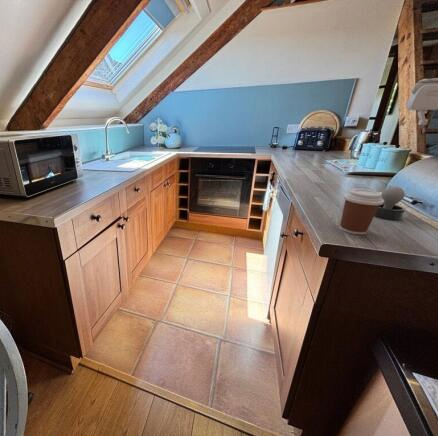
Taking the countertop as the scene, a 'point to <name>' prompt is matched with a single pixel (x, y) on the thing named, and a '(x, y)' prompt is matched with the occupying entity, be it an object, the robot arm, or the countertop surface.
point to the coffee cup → (359, 210)
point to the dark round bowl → (390, 212)
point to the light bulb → (392, 196)
